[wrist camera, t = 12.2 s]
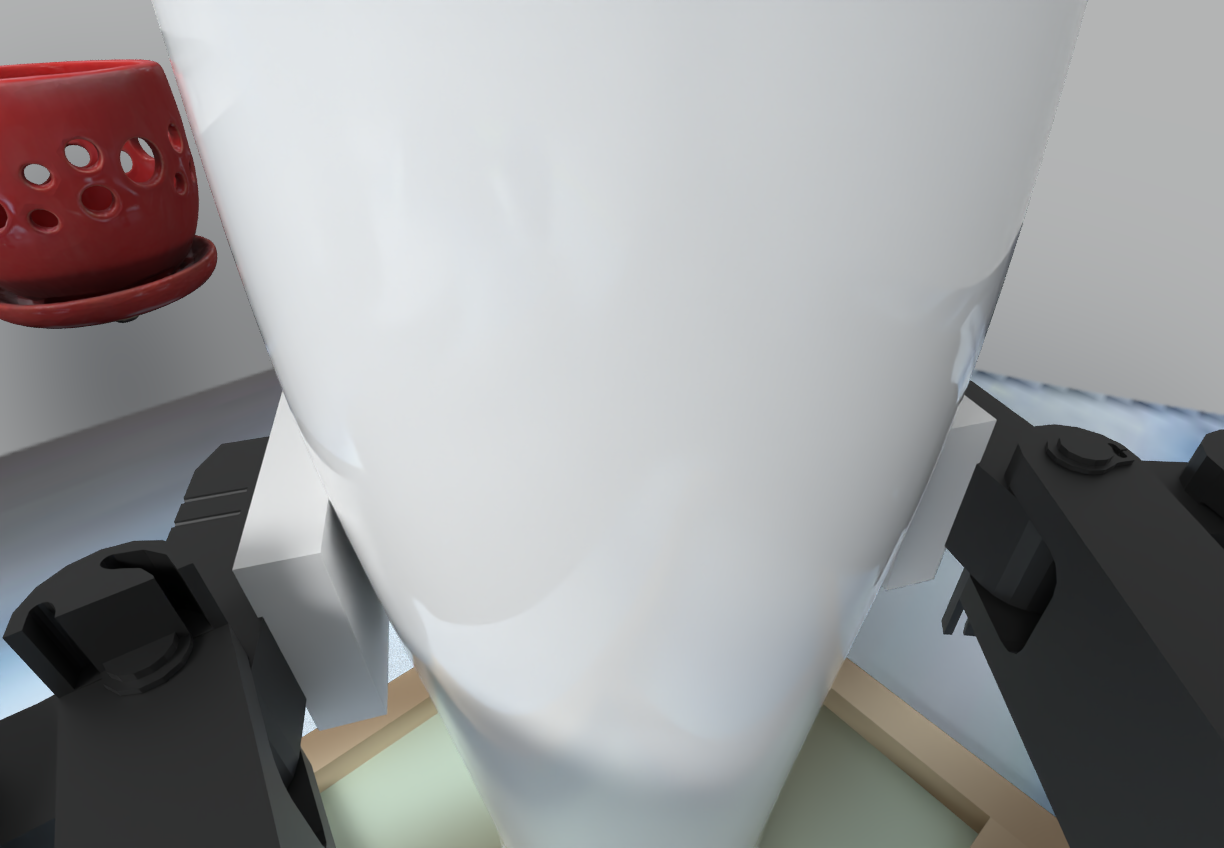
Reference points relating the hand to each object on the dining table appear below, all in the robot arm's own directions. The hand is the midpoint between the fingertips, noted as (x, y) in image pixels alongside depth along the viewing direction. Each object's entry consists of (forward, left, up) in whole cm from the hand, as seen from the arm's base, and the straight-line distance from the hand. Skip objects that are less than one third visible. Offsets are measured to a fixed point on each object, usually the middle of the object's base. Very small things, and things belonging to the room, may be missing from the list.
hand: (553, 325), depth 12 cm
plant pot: (-37, -6, -10) cm, 39 cm away
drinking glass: (+5, -2, -9) cm, 10 cm away
